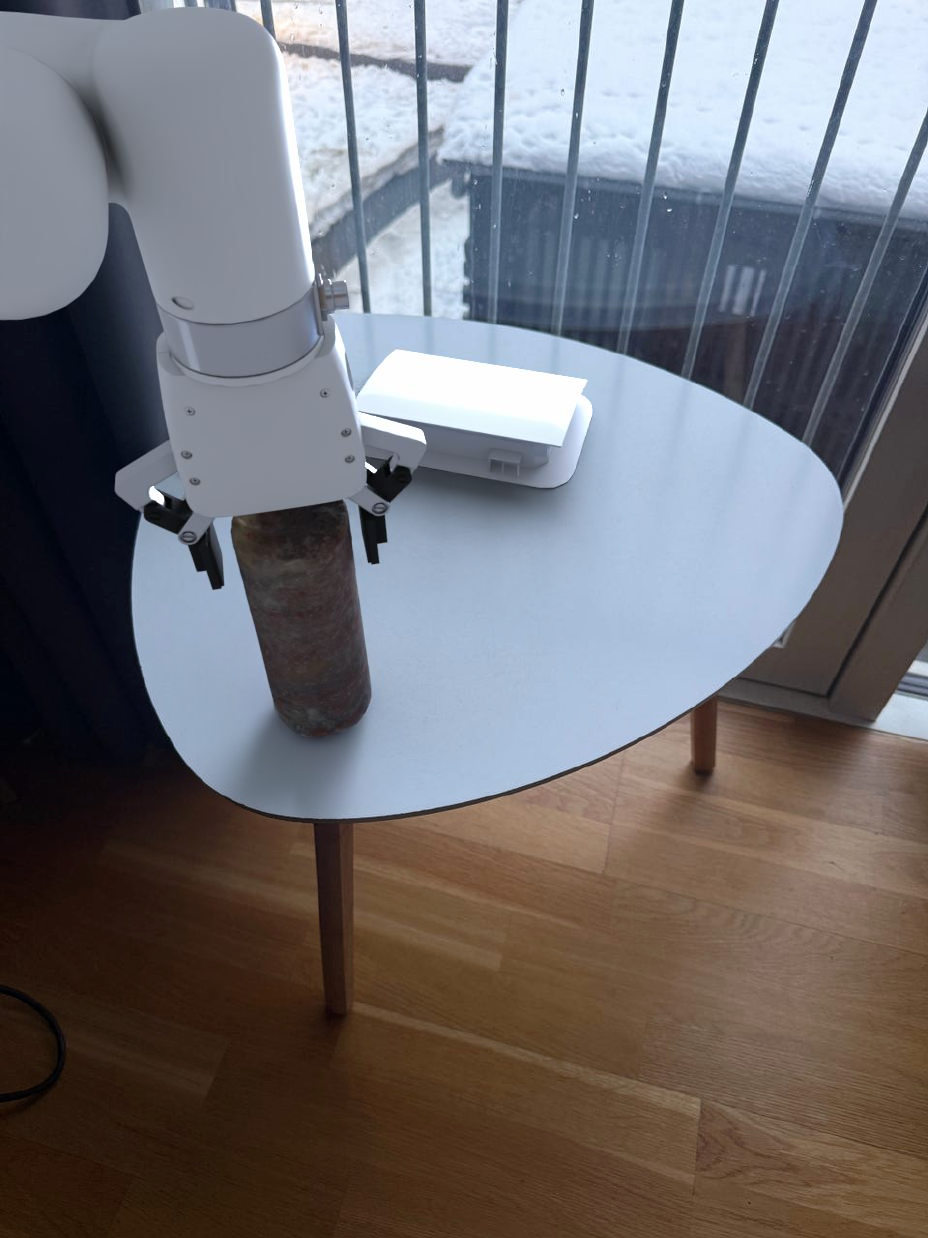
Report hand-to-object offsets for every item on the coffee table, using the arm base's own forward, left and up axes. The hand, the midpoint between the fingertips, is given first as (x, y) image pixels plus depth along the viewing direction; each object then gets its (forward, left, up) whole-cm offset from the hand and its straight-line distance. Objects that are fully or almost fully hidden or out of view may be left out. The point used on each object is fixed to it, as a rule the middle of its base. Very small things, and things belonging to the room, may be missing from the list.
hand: (295, 560), depth 57 cm
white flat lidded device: (+18, +31, -16) cm, 39 cm away
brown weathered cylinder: (0, 0, -16) cm, 16 cm away
